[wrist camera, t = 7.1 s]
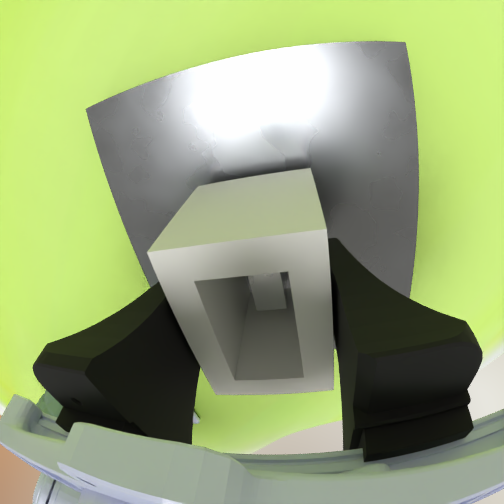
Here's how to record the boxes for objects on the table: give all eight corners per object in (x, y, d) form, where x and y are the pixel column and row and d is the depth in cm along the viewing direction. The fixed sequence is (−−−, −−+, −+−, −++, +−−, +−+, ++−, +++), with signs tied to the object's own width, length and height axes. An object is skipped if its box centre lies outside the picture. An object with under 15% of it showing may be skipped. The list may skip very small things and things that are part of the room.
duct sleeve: (198, 186, 12) (146, 252, 7) (310, 167, 11) (326, 228, 6) (234, 309, 15) (215, 394, 10) (324, 300, 14) (333, 389, 10)
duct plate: (398, 327, 17) (413, 377, 14) (189, 345, 20) (173, 392, 16) (397, 44, 9) (439, 33, 6) (97, 106, 12) (43, 120, 8)
